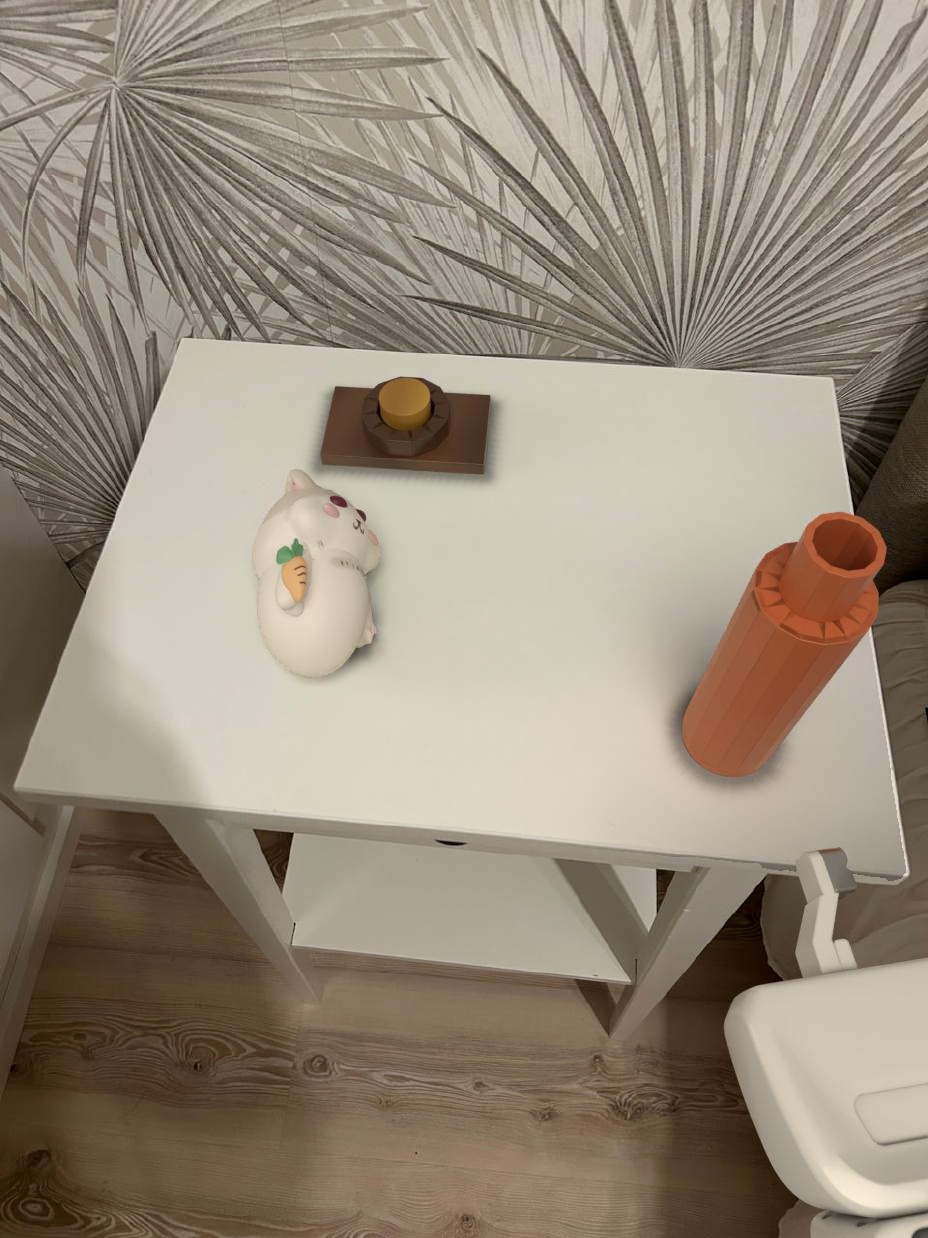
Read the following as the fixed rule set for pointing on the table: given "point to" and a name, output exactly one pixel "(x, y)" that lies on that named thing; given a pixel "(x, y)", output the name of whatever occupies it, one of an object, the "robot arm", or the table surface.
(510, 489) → the table surface
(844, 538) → the orange bottle
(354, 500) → the table surface
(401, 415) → the button
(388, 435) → the brown button base
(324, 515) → the cat figurine
